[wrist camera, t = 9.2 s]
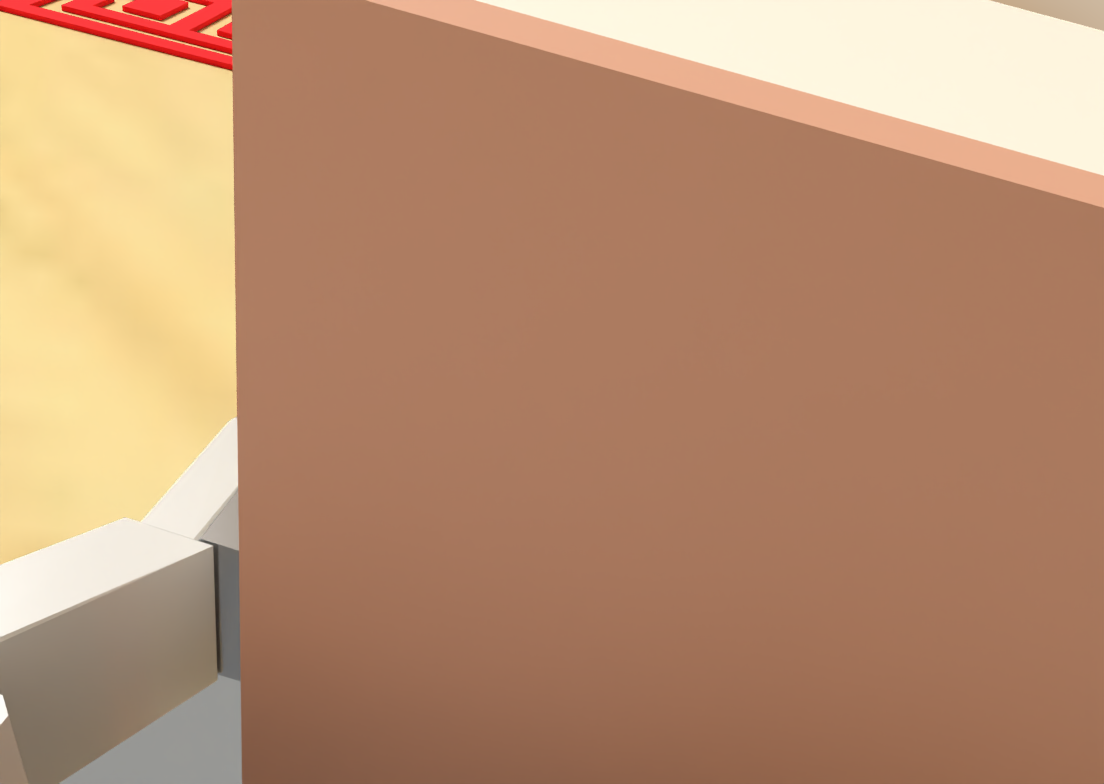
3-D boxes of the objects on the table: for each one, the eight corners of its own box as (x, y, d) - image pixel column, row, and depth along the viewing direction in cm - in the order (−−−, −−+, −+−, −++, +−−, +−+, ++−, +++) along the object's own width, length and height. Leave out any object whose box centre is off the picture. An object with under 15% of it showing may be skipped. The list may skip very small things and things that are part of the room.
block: (611, 1229, 11) (1592, 345, 3) (246, 1098, 12) (232, -37, 3) (651, 910, 15) (1184, 52, 6) (364, 813, 15) (505, -130, 7)
